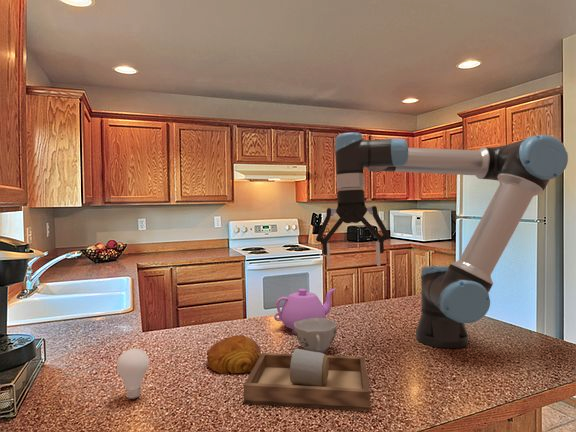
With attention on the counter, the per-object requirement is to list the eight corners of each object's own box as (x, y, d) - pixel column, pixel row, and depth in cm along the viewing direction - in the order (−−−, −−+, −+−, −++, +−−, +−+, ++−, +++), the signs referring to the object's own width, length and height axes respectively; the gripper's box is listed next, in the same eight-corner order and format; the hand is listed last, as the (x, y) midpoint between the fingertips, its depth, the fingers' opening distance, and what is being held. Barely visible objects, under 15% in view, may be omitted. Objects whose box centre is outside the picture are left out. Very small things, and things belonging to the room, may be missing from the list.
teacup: (293, 343, 119) (293, 317, 118) (334, 342, 119) (333, 316, 119) (295, 362, 104) (294, 333, 103) (341, 362, 104) (341, 332, 104)
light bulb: (123, 392, 88) (122, 344, 88) (153, 390, 89) (152, 343, 88) (112, 407, 81) (111, 355, 81) (144, 405, 82) (143, 354, 82)
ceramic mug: (325, 392, 85) (325, 358, 85) (289, 389, 87) (288, 355, 87) (331, 373, 95) (331, 342, 95) (299, 370, 97) (298, 340, 97)
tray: (364, 372, 97) (364, 357, 96) (369, 411, 78) (369, 392, 78) (262, 368, 100) (261, 352, 100) (243, 403, 82) (243, 385, 82)
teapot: (330, 320, 142) (329, 283, 142) (343, 333, 127) (343, 292, 127) (271, 324, 138) (270, 286, 138) (277, 338, 123) (277, 295, 123)
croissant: (257, 359, 112) (257, 331, 113) (264, 374, 97) (263, 341, 98) (206, 362, 109) (207, 333, 110) (205, 378, 94) (206, 344, 95)
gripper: (394, 188, 109) (396, 262, 110) (306, 192, 112) (309, 264, 112) (398, 186, 102) (401, 266, 102) (305, 191, 104) (308, 269, 105)
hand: (353, 265), depth 107 cm, fingers open, 13 cm apart
